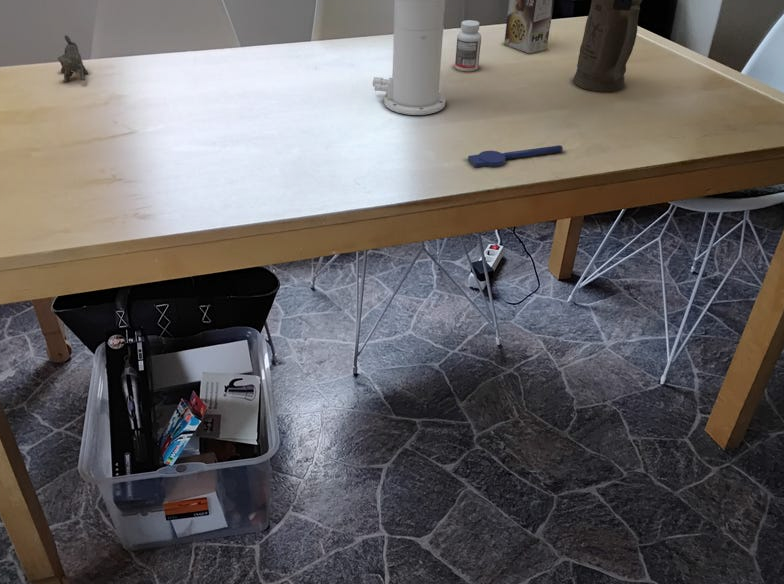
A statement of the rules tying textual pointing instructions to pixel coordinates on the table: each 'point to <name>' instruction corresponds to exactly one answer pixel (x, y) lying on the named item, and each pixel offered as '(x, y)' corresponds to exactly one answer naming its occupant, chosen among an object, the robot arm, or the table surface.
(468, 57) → the pill bottle
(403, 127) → the table surface
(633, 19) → the beer stein
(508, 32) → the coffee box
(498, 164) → the spoon
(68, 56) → the dog figurine
